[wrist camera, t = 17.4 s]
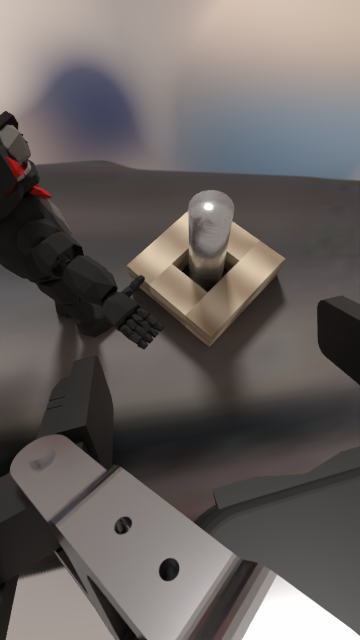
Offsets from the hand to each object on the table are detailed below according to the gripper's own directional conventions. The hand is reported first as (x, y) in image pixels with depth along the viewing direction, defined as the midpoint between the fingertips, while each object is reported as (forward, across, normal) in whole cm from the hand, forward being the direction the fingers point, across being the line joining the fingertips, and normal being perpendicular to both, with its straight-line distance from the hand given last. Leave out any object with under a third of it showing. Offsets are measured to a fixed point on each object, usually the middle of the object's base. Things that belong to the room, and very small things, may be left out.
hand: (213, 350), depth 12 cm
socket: (+32, -6, +8) cm, 34 cm away
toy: (+32, +10, +8) cm, 35 cm away
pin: (+32, -6, +8) cm, 34 cm away
